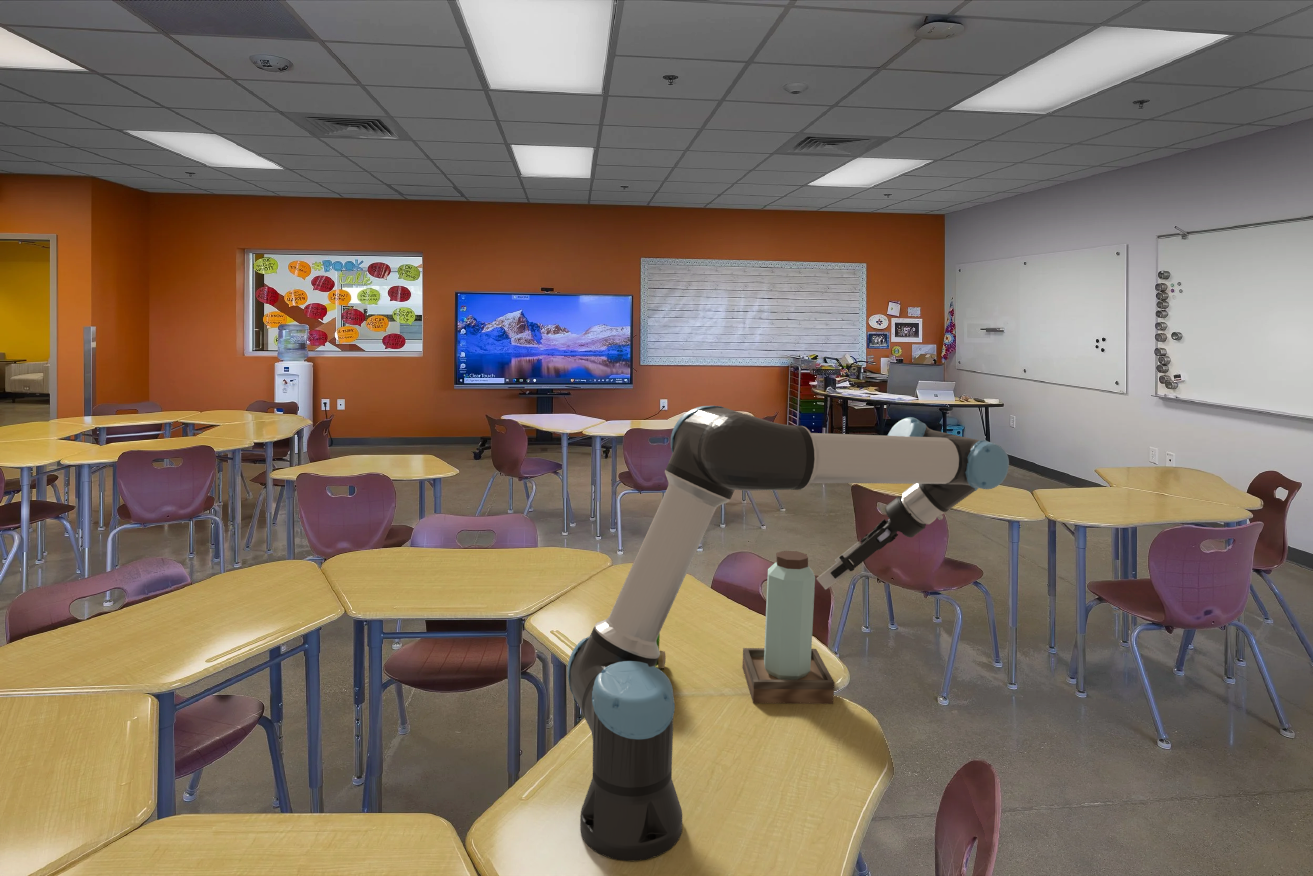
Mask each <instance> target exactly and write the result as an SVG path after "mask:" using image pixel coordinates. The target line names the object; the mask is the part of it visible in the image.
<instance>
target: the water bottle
mask: <svg viewBox="0 0 1313 876" xmlns="http://www.w3.org/2000/svg"><path fill="white" fill-rule="evenodd" d="M775 561H776V562H774V563H773V564H772V565H771V566H770V567H769V568H767V577H766V579H767V580H766V581H767V583H766V606H765V628H764V629H765V631H764V648H765V649H764V665H765V669H766V671H767V672H768V674H770V675H772V676H774V677H776V678H778V679H783V680H798V679H800V678H802V677H805V676H806V675H807V674H808V673H809V672H810V667H811V649H813V647H812V645H813V644H812V643H813V629H814V627H813V626H814V625H813V624H814V607H815V605H814V603H815V585H816V575H815V572H814V570H813V569H812V568H811V566H810V565H809V557H808V554H807V553H804V552H800V551H797V550H782V551H778V552H776V560H775Z"/></svg>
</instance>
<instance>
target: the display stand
mask: <svg viewBox="0 0 1313 876" xmlns="http://www.w3.org/2000/svg"><path fill="white" fill-rule="evenodd" d="M764 649H765V647H764V648H763V647H758V648H756V647H755V648H754V647H748V648H747V647H743V648H742V666H741V667H742V670H743V674H745V675H744V677H745V680H746V685H747V687H748V690H749V695H750V698H751V700H752V703H753V704H796V705H797V704H803V705H804V704H808V705H809V704H812V705H814V704H816V705H818V704H819V705H820V704H821V705H822V704H823V705H824V704H825V705H828V704H829V705H831V704H832V705H833V704H834V699H835V698H834V697H835V696H834V695H835V694H834V693H835V680H834V679H833V677H832V675H831V673H830V671H829V670H828V668H827V666H826V664H825V663H824V660H823V658H822V657H821V655H820V653H819V652H818V650H817V648H811V667H810V672H809V673H808V674H807V675H806V676H805V677H802V678H800V679H798V680H783V679H778V678H776V677H774V676H772V675H770V674H768V672H767V671H766V669H765V665H764ZM833 696H834V697H833Z"/></svg>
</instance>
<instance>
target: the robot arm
mask: <svg viewBox="0 0 1313 876" xmlns="http://www.w3.org/2000/svg"><path fill="white" fill-rule="evenodd" d="M670 448H671V456H670V459H669V461H668V464H666V465H667V466H666V468H665V470H664V474H665V476H666V479H667V482H668V485H667V488H666V490H665V493H664V494H663V497H662V498H661V501H660V502H659V503H660V504H659V506H658V508H657V509H656V510H657V511H656V513H655V515H654V516H653V518H652V522H651V523H650V526H649V528H648V530H647V531H646V535H645V537H644V539H643V541H642V543H641V546H640V547H639V550H638V553H637V554H636V556H635V559H634V560H633V563H632V565H631V567H630V570H629V572H628V574H627V576H626V578H625V581H624V583H623V586H622V588H621V590H620V592H619V593H618V596H617V597H616V600H615V602H614V605H613V607H612V609H611V612H610V614H609V616H608V617H607V618H606V619H603V620H600V621H597V622H595V624H594V626H593V629H592V631H591V633H590V634H589V635H588V636H587V637H586V638H585V637H584V638H583V639H581V640H580V641H579V642H578V643H577V645H576V646H575V647H574V648H573V650H572V651H571V654H570V656H569V659H568V661H567V662H568V663H567V668H566V669H567V670H566V671H567V672H566V675H567V679H568V680H567V681H568V687H569V690H570V692H571V694H572V697H573V699H574V701H575V702H576V703H577V704H578V707H579V708H580V711H581V713H582V715H583V717H584V719H585V721H586V723H587V726H588V728H589V730H590V731H591V737H592V779H591V781H590V783H589V786H588V790H587V792H586V795H585V798H584V801H583V803H582V805H581V806H582V807H581V809H580V816H579V818H580V822H579V826H580V827H579V828H580V829H579V830H580V835H581V837H582V839H583V841H584V842H585V844H586V845H587V846H588V847H589V848H590V849H591V850H593V851H594V852H595V853H597V854H600V855H601V856H604V857H606V858H610V859H614V860H618V861H627V862H629V861H630V862H631V861H632V862H634V861H644V860H649V859H652V858H655V857H659V856H661V855H663V854H665V853H666V852H668V851H670V850H671V849H672V848H673V847H674V846H675V845H676V844H678V843H677V842H678V841H679V840H680V838H681V835H682V833H683V809H682V807H681V804H680V800H679V797H678V794H677V791H676V788H675V785H674V782H673V778H672V776H673V775H672V773H673V772H672V769H673V767H672V766H673V744H674V743H673V739H674V714H675V708H676V707H675V705H676V704H675V698H674V690H673V685H672V683H671V682H672V681H671V680H670V678H669V677H668V676H667V675H666V673H665V672H663V671H662V670H661V668H658V667H657V666H655V665H656V662H657V660H658V658H659V656H660V651H661V650H660V648H659V649H658V646H657V643H656V640H657V637H658V635H659V633H661V631H662V629H663V626H664V625H665V621H666V619H667V617H668V615H669V613H670V611H671V608H672V606H673V604H674V602H675V600H676V597H677V595H678V593H679V591H680V588H681V587H682V585H683V582H684V580H685V578H686V575H687V574H688V571H689V569H690V566H691V564H692V562H693V561H694V557H695V555H696V554H697V551H698V549H699V546H700V544H701V543H702V541H703V538H704V536H705V534H706V532H707V530H708V527H709V525H710V523H711V520H712V518H713V516H714V514H715V512H716V510H717V508H718V507H719V506H721V505H724V504H727V503H729V502H731V500H732V497H733V494H734V492H735V491H744V492H745V491H748V492H750V491H755V492H756V491H789V490H790V491H793V490H794V491H800V490H804V489H806V488H807V487H808V486H809V485H810V484H903V485H905V484H908V485H910V486H909V487H908V488H906V489H905V490H903V492H902V494H901V495H902V496H899V495H898V496H897V497H895V498H894V499H893V500H892V501H890V502H889V503H888V504H886V505H885V508H884V509H885V514H886V516H887V518H888V519H887V520H886V519H885V518H883V519H882V520H881V521H880V522H878V524H877V525H876V526H875V527H874V528H873V529H872V531H870V532H868V533H867V534H865V536H864V537H862V538H861V539H860V541H857V542H856V543H855V544H853V545H852V546H851V547H850V548H848V549H847V550H845V551H844V552H843V553H842V554H841V555H839V556H838V557H837V558H835V559H834V561H835V563H834V564H833V565H832V566H831V567H829V568H827V570H825V571H824V572H822V573H821V574H820V575H818V577H815V580H816V581H817V582H818V583H819V584H820V585H821V586H822V587H823V589H824V590H825V591H826V590H828V589H829V588H831V586H833V585H834V584H836V583H837V582H838V581H840V580H841V579H842V578H843V577H845V576H846V575H847V574H849V573H850V572H853V571H854V570H855V569H856V568H857V567H858V566H860V565H861V564H862V563H863V562H864V561H866V560H867V559H868V558H869V557H871V556H872V555H873V554H874V553H875V552H877V551H879V550H881V549H883V548H884V547H885V546H887V545H888V544H890V543H892V542H893V541H894V540H895V539H896V538H897V537H898V536H899V534H898V533H897V532H899V533H901V534H902V535H904V536H905V537H906V538H914V537H915V536H916V535H918V534H919V533H920V532H922V531H923V530H924V529H926V526H927V525H931V524H932V523H933V522H934V521H936V519H938V520H939V521H943V519H944V514H945V513H946V512H948V511H949V510H951V509H952V508H953V507H955V506H956V505H957V504H959V503H960V502H962V501H963V500H965V499H966V498H967V497H969V496H970V495H971V494H973V493H974V492H977V490H978V489H982V490H993V489H995V488H997V487H999V486H1000V485H1001V484H1002V483H1003V482H1004V481H1005V479H1006V478H1007V475H1008V474H1009V473H1008V472H1009V465H1010V460H1009V456H1008V453H1007V451H1006V450H1005V449H1004V448H1003V447H1002V446H1000V445H999V444H997V443H994V442H992V441H991V442H990V441H988V440H986V439H985V440H984V439H976V438H971V437H966V436H965V437H964V436H959V435H958V434H957V435H956V434H952V433H948V432H942V431H939V430H933V429H931V428H929V427H928V426H927V424H926V423H924V422H922V421H920V419H917V418H915V417H913V416H912V417H911V416H909V417H908V416H907V417H905V418H902V419H901V420H898V422H896V423H895V424H894V425H893V426H892V427H891V429H890V430H889V432H888V434H887V435H881V434H880V435H879V434H877V435H875V434H874V435H873V434H854V433H853V434H851V433H850V434H848V433H846V434H845V433H822V432H821V433H820V432H819V433H818V432H811V431H810V429H808V428H807V427H806V426H803V425H793V424H791V425H790V424H782V423H777V422H775V421H774V422H773V421H770V420H766V419H764V418H763V419H762V418H759V417H757V416H754V415H750V414H747V413H742V412H740V411H736V410H733V409H731V408H727V407H724V406H720V405H702V406H697V407H695V408H692V409H690V410H689V411H687V412H685V413H684V414H683V415H682V416H681V417H680V418H679V419H678V420H677V421H676V423H675V425H674V426H673V428H672V432H671V434H670ZM911 484H912V485H911Z"/></svg>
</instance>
